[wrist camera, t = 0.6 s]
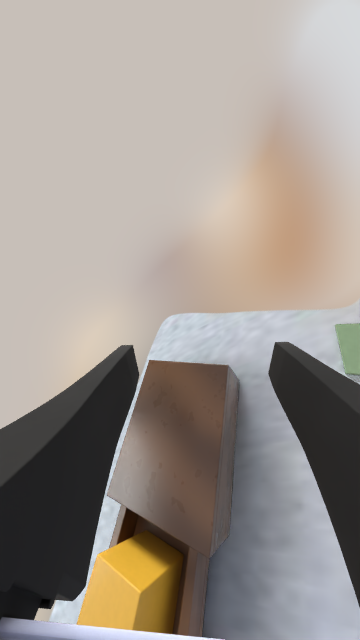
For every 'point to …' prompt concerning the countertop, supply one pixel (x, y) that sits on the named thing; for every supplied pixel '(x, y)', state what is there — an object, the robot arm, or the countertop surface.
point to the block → (134, 586)
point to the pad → (349, 346)
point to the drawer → (192, 572)
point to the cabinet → (181, 452)
